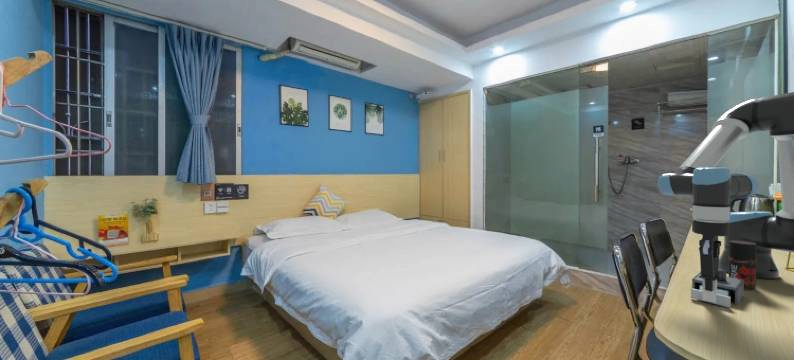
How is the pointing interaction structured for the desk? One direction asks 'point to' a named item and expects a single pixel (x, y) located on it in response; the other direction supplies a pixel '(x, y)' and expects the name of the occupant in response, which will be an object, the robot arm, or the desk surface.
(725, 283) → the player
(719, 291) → the pale blue flat dome
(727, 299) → the tray
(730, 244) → the deodorant
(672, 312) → the desk surface
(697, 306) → the desk surface
